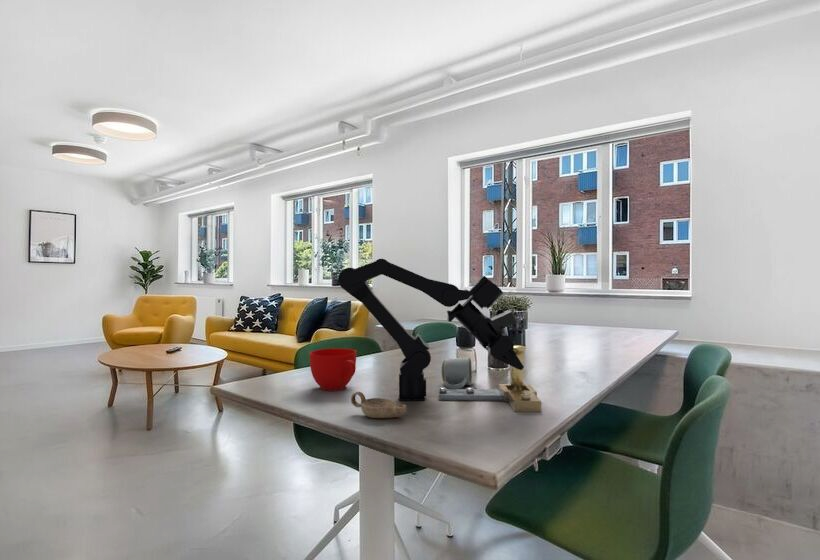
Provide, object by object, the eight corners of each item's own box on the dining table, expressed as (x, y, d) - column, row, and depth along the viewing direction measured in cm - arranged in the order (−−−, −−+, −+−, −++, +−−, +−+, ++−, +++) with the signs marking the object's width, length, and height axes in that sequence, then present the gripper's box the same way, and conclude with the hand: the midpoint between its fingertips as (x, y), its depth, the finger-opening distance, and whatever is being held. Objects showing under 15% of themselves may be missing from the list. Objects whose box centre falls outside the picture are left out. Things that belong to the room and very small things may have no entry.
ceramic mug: (444, 380, 130) (444, 354, 130) (472, 381, 128) (472, 355, 128) (439, 389, 120) (439, 362, 119) (469, 391, 118) (468, 363, 118)
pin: (508, 398, 110) (508, 347, 110) (509, 394, 113) (509, 345, 113) (524, 400, 108) (524, 348, 108) (525, 395, 112) (525, 345, 112)
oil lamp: (411, 415, 97) (411, 392, 97) (397, 425, 90) (396, 401, 90) (360, 408, 103) (360, 387, 103) (343, 417, 96) (343, 395, 96)
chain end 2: (510, 411, 99) (510, 396, 99) (498, 392, 115) (498, 380, 115) (545, 411, 99) (545, 396, 99) (529, 393, 115) (529, 380, 115)
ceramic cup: (332, 399, 109) (332, 360, 109) (301, 387, 122) (301, 351, 122) (374, 390, 118) (373, 354, 118) (340, 380, 131) (340, 346, 131)
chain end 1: (439, 400, 108) (439, 392, 108) (438, 392, 116) (438, 384, 116) (536, 401, 107) (536, 392, 107) (529, 393, 115) (529, 384, 115)
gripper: (504, 301, 102) (552, 348, 101) (490, 297, 120) (530, 337, 120) (471, 335, 102) (518, 382, 102) (462, 326, 120) (502, 366, 120)
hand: (518, 364), depth 111 cm, fingers open, 9 cm apart
